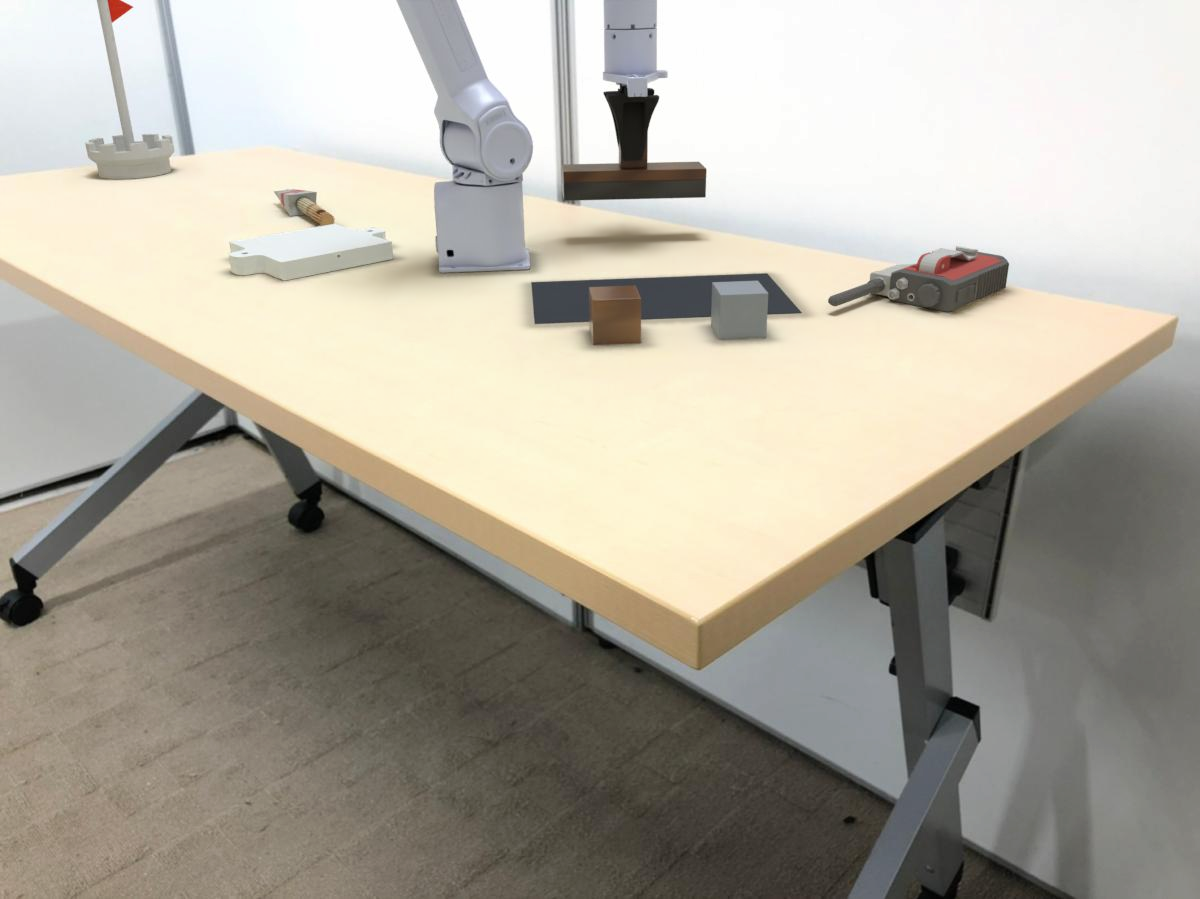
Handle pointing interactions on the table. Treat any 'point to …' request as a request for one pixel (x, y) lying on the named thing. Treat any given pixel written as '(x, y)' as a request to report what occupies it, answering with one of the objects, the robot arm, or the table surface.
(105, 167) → the flag stand
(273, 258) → the mounting plate
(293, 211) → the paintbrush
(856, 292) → the walkie-talkie
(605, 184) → the board eraser
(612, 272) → the table surface
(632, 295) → the block brown
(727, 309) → the block slate
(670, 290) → the mat
